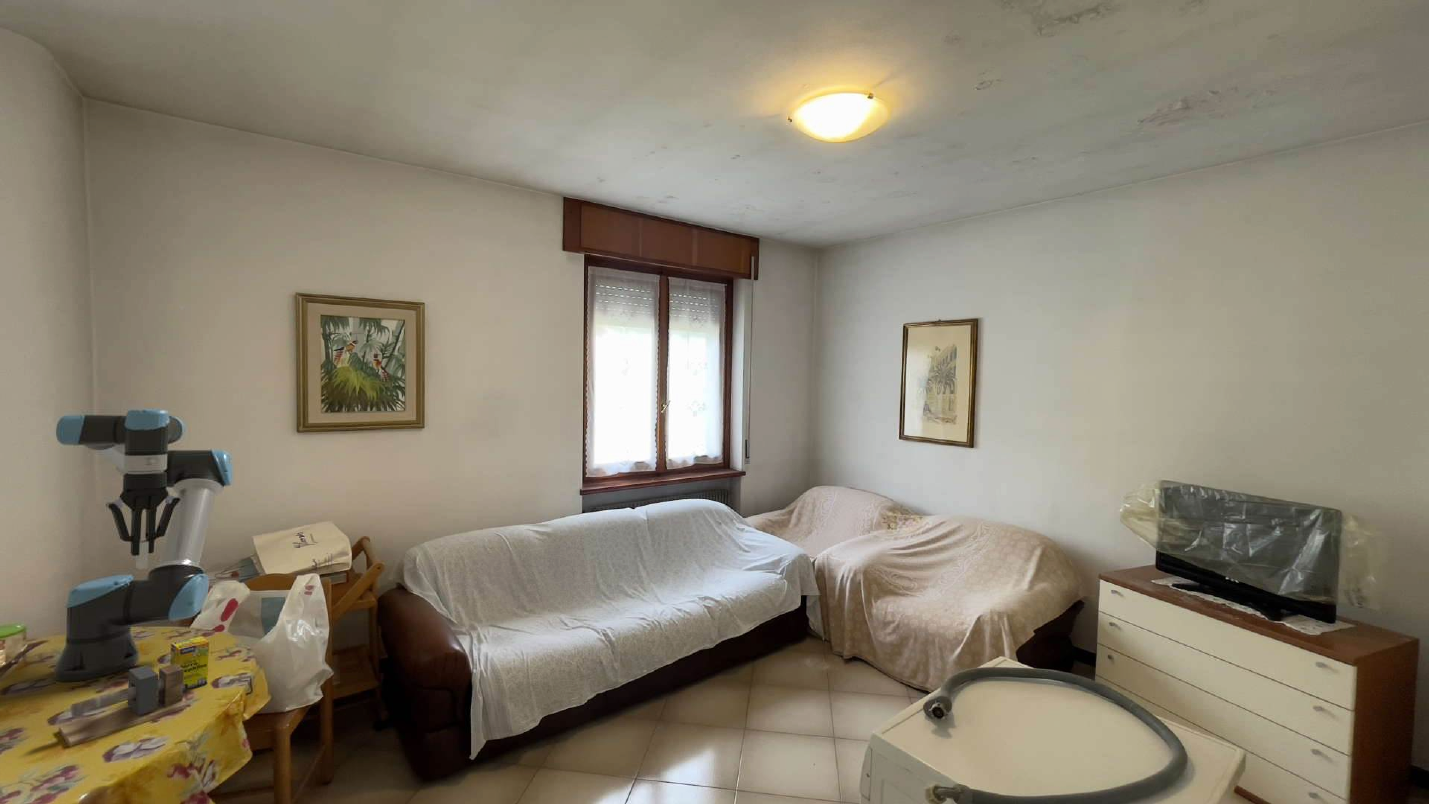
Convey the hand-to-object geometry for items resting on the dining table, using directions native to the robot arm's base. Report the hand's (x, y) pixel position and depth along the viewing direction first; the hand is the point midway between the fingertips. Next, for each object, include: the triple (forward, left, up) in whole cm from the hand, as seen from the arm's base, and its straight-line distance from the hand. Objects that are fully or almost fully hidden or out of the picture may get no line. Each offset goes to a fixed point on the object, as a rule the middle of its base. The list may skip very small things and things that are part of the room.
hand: (141, 567), depth 138 cm
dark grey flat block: (+14, -2, -29) cm, 32 cm away
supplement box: (+6, +8, -31) cm, 32 cm away
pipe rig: (+14, -5, -30) cm, 34 cm away
